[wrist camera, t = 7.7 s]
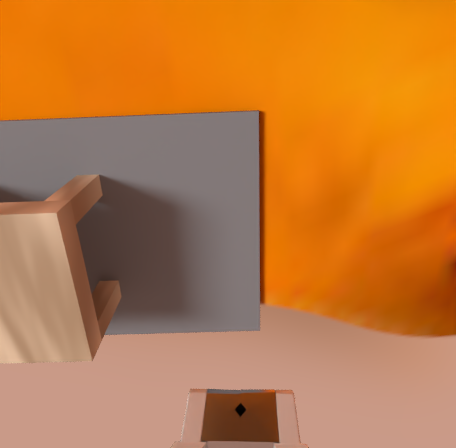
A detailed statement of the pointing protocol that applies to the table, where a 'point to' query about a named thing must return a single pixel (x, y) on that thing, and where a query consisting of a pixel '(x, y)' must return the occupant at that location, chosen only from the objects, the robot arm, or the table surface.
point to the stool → (51, 279)
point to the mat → (155, 211)
